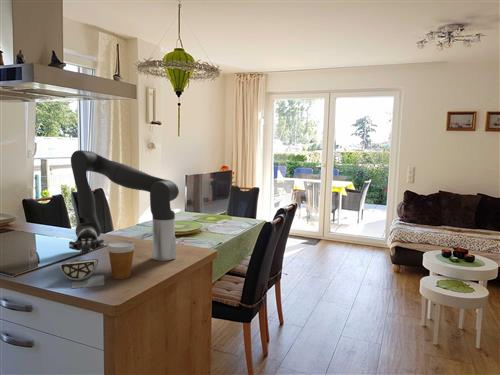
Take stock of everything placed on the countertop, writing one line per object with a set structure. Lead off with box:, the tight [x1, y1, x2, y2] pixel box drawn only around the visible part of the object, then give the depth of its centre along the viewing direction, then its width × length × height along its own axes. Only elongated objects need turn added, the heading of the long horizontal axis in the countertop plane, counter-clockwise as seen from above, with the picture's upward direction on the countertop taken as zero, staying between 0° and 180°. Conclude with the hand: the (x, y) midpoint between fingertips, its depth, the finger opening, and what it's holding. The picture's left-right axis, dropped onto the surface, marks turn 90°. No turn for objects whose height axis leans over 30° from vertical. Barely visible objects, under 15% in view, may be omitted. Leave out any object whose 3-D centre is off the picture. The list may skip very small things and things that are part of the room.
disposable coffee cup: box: [107, 240, 136, 280], centre depth 136 cm, size 10×10×12 cm
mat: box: [71, 274, 105, 290], centre depth 130 cm, size 10×10×1 cm
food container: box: [59, 258, 99, 281], centre depth 133 cm, size 12×6×10 cm
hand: (85, 249), depth 137 cm, fingers closed
